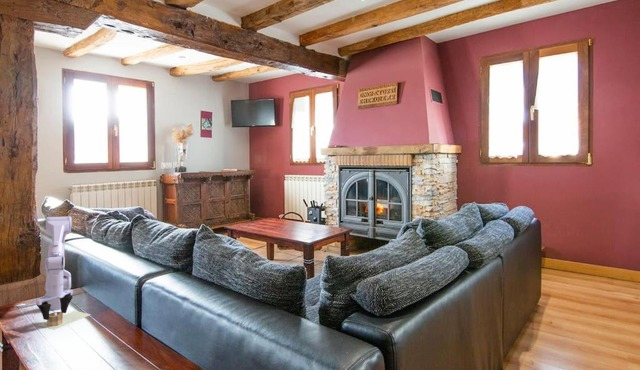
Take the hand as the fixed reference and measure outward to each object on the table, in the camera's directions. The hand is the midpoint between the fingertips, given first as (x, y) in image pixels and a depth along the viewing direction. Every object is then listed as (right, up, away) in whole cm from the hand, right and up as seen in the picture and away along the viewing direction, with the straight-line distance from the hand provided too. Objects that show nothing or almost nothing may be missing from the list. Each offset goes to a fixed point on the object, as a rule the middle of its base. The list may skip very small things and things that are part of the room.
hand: (55, 315), depth 163 cm
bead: (0, -3, 0) cm, 3 cm away
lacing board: (+1, -4, +5) cm, 6 cm away
